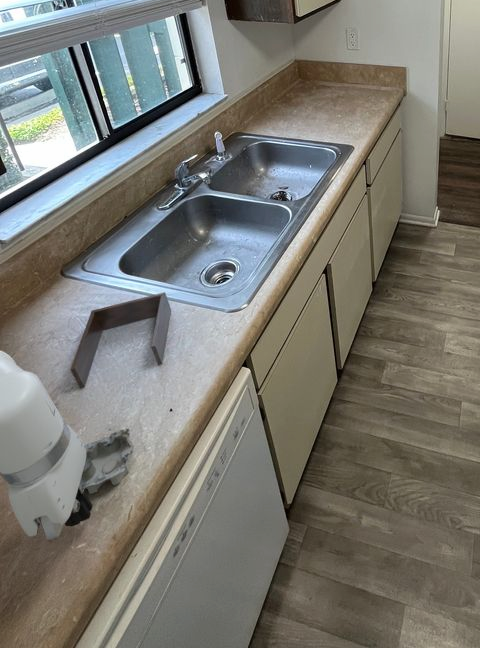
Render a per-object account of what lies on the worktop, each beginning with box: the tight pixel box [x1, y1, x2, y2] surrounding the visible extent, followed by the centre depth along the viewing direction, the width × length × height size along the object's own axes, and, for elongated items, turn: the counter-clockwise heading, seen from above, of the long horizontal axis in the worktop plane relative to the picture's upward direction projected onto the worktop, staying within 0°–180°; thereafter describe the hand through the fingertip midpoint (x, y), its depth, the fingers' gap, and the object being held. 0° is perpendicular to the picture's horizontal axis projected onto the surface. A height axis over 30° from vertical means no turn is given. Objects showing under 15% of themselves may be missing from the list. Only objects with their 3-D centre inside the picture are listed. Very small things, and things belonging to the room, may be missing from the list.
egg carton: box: [81, 428, 135, 495], centre depth 75 cm, size 11×8×4 cm
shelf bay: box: [70, 291, 172, 389], centre depth 96 cm, size 15×15×6 cm
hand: (80, 516), depth 68 cm, fingers closed
